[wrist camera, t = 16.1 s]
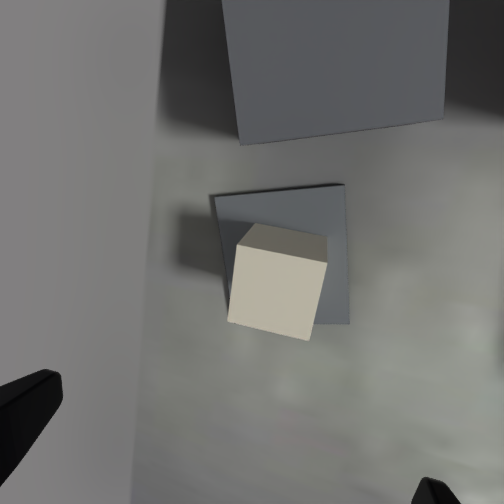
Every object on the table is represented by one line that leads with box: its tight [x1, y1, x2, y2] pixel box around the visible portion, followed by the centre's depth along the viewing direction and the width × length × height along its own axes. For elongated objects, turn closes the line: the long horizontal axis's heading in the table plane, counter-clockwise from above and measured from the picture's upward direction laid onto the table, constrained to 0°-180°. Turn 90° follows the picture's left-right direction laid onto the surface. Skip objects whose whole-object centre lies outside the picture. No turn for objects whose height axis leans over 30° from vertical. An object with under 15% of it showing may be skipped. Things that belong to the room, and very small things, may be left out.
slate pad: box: [214, 184, 350, 324], centre depth 19 cm, size 8×7×1 cm
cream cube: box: [227, 223, 328, 341], centre depth 17 cm, size 4×4×4 cm
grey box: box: [222, 0, 450, 146], centre depth 13 cm, size 7×7×5 cm
